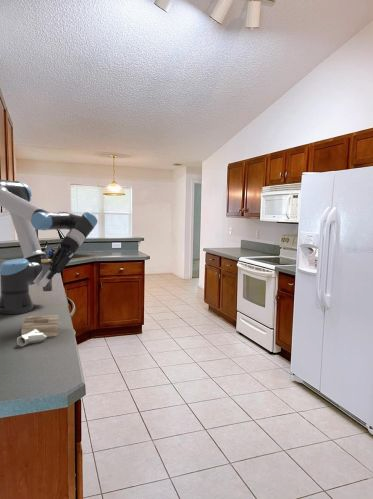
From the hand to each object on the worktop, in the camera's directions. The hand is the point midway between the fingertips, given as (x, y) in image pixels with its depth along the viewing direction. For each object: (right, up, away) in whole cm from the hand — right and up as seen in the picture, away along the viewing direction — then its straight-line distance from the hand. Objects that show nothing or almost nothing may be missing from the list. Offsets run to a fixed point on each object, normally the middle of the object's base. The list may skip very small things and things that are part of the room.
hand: (38, 284), depth 141 cm
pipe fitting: (+6, -19, -19) cm, 28 cm away
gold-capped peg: (+2, -3, +3) cm, 5 cm away
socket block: (+4, -17, -8) cm, 19 cm away
